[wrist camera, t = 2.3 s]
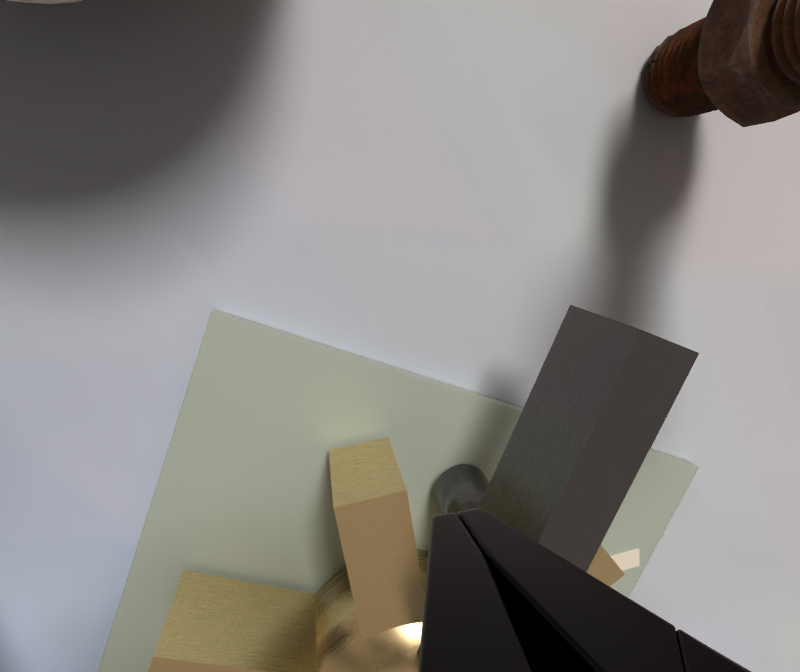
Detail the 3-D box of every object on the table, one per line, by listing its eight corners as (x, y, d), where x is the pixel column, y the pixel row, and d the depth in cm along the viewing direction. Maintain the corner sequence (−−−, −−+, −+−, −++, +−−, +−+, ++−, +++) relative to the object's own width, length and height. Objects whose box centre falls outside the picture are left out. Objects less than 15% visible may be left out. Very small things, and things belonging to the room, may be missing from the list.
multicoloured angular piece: (117, 764, 21) (26, 1027, 14) (307, 202, 17) (307, 196, 10) (498, 791, 27) (565, 994, 20) (721, 367, 22) (909, 437, 15)
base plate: (64, 784, 22) (56, 802, 22) (214, 309, 18) (210, 313, 17) (503, 810, 28) (508, 824, 28) (689, 461, 24) (700, 468, 24)
